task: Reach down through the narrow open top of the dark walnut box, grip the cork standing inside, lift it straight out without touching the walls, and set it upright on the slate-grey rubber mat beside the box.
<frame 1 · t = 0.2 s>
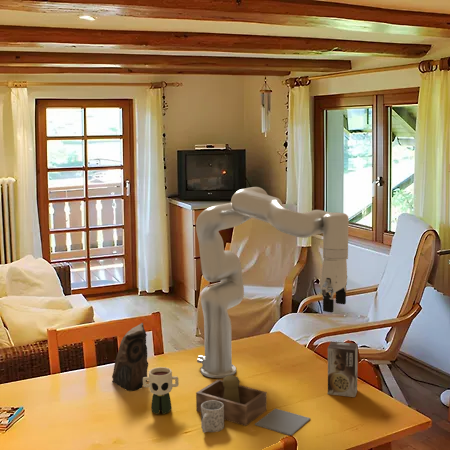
hand: (334, 307, 197), 31 cm above the table, tool pointing down, fingers open, 9 cm apart
owl: (130, 383, 219), on the table
character mug: (161, 411, 198), on the table
mug: (210, 429, 186), on the table
coffee box: (342, 392, 210), on the table
walnut box: (231, 410, 197), on the table
grey mat: (282, 422, 189), on the table
cork: (231, 411, 197), resting in walnut box
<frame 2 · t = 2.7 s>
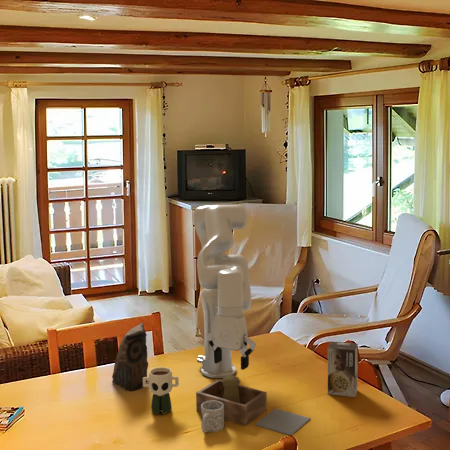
hand: (231, 365, 194), 15 cm above the table, tool pointing down, fingers open, 9 cm apart
nothing on the table moved.
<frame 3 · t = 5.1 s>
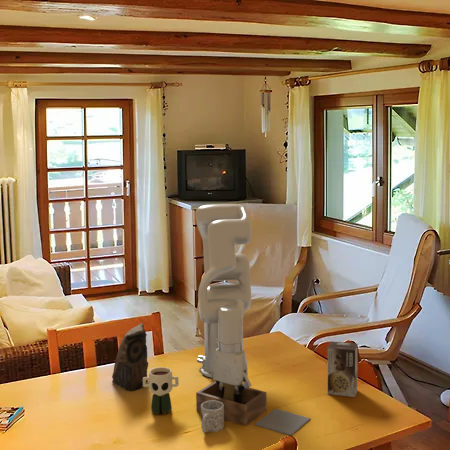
hand: (231, 402, 197), 3 cm above the table, tool pointing down, fingers closed on cork, 4 cm apart
cork: (231, 411, 197), resting in walnut box, touching gripper
everything else where it was.
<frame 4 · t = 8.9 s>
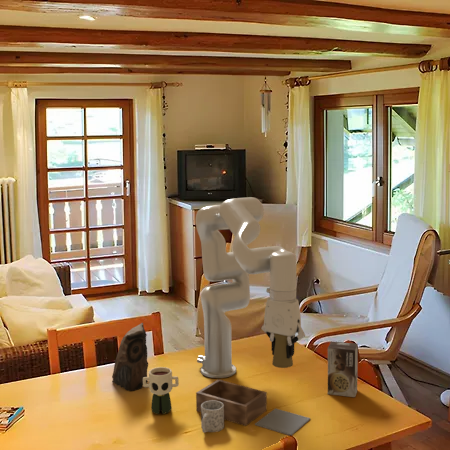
hand: (282, 354, 186), 21 cm above the table, tool pointing down, fingers closed on cork, 4 cm apart
cork: (282, 364, 186), point 18 cm above the table, touching gripper
everything else where it was.
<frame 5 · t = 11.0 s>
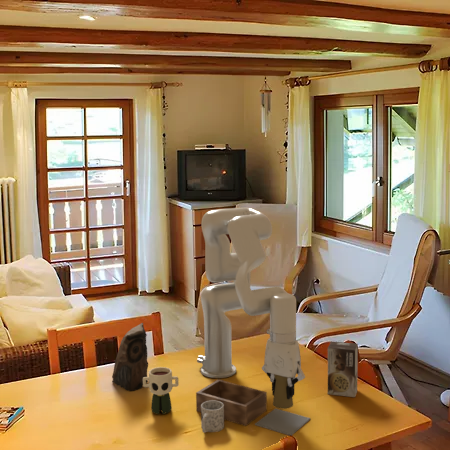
hand: (283, 395, 188), 9 cm above the table, tool pointing down, fingers closed on cork, 4 cm apart
cork: (282, 404, 188), point 6 cm above the table, touching gripper
everything else where it was.
when the fingers open (5 cm above the table, at t = 12.7 s): cork stays where it is, resting on grey mat.
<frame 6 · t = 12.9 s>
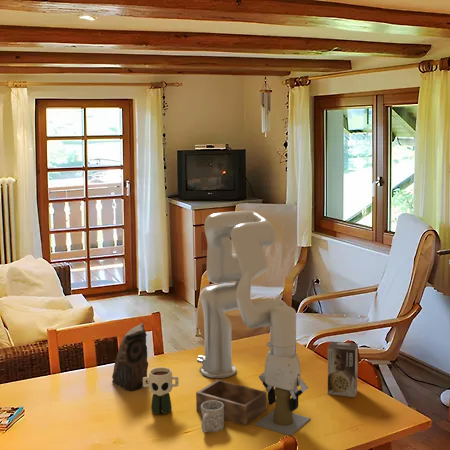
hand: (282, 406, 188), 5 cm above the table, tool pointing down, fingers open, 6 cm apart
cork: (283, 421, 189), resting on grey mat
everything else where it was.
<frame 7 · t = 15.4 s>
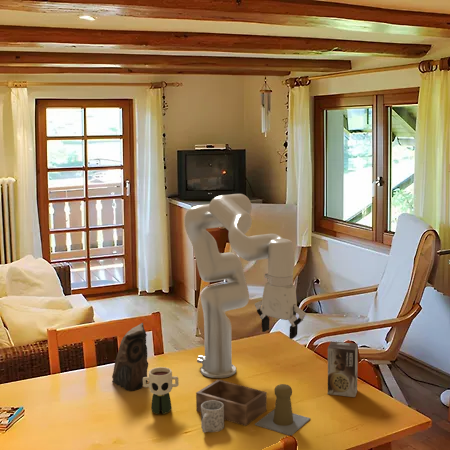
hand: (279, 334, 195), 24 cm above the table, tool pointing down, fingers open, 9 cm apart
nothing on the table moved.
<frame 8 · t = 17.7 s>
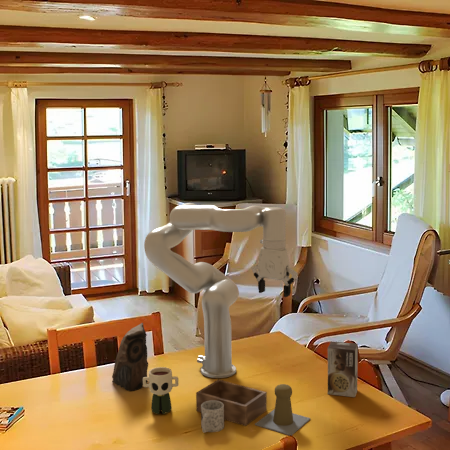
hand: (274, 294, 215), 30 cm above the table, tool pointing down, fingers open, 9 cm apart
nothing on the table moved.
at the end: cork inside the target area on the grey mat (0.1 cm from its centre), point 0.2 cm above the grey mat's base; cork tilted 0°; the gripper is holding nothing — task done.
